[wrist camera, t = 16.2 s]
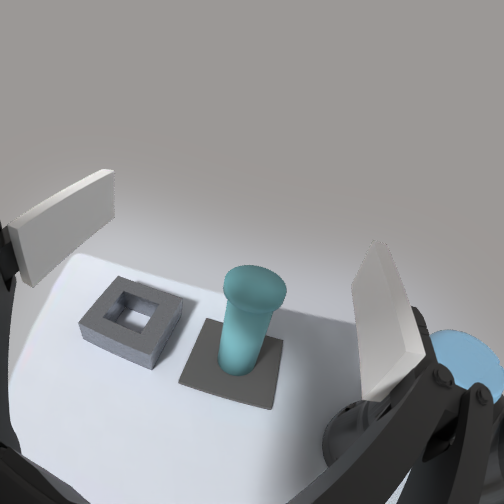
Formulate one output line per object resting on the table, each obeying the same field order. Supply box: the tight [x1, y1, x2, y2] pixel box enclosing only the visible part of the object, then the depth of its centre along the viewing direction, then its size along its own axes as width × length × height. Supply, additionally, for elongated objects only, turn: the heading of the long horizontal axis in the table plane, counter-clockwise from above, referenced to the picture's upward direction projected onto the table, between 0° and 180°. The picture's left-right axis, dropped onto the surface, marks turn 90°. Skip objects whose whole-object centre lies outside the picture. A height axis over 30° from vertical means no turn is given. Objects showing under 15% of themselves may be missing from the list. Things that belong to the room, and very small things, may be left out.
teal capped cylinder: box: [217, 265, 287, 376], centre depth 39 cm, size 8×8×16 cm
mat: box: [179, 318, 283, 410], centre depth 43 cm, size 14×14×1 cm
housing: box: [78, 276, 183, 370], centre depth 43 cm, size 13×13×4 cm
